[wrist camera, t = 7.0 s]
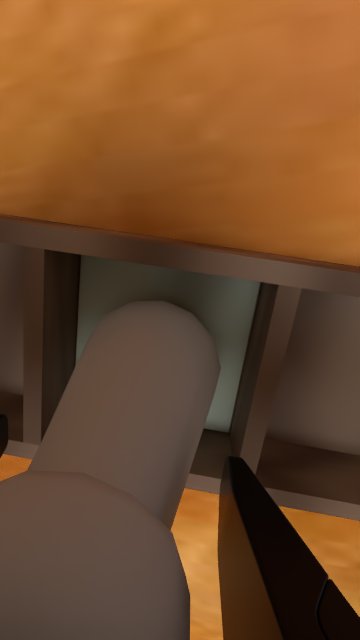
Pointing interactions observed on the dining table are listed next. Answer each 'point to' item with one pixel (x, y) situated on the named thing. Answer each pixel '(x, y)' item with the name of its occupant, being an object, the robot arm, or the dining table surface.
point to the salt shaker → (110, 486)
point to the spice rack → (230, 340)
